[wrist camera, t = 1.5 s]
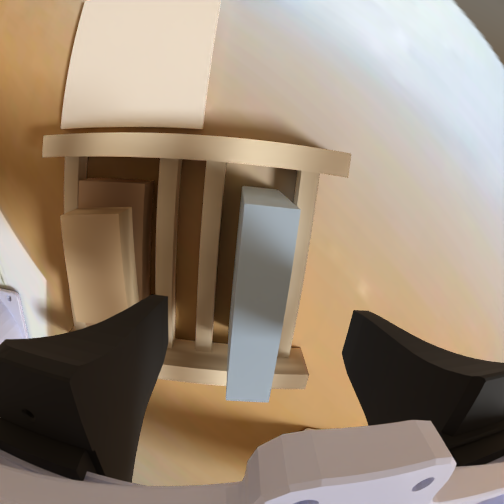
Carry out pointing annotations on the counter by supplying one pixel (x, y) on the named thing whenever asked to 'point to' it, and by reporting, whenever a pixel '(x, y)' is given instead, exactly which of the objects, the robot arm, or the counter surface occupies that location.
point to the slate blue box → (259, 291)
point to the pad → (141, 64)
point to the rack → (206, 231)
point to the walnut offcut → (141, 201)
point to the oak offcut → (100, 261)
